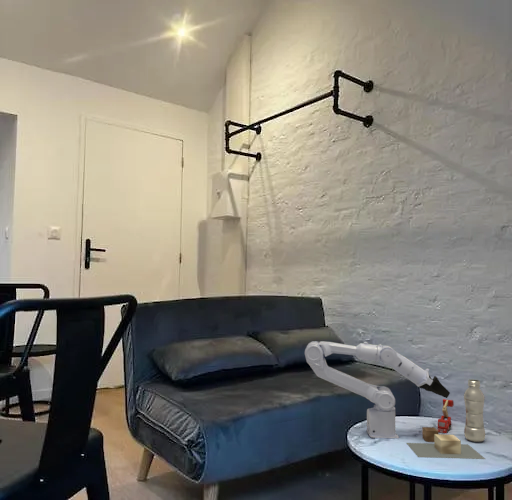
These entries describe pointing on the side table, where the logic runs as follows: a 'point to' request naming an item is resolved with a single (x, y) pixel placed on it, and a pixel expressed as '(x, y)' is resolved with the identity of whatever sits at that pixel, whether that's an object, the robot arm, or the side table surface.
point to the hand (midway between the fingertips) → (444, 394)
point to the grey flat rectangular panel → (431, 452)
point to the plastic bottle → (474, 412)
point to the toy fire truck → (442, 423)
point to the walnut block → (429, 433)
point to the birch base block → (447, 444)
